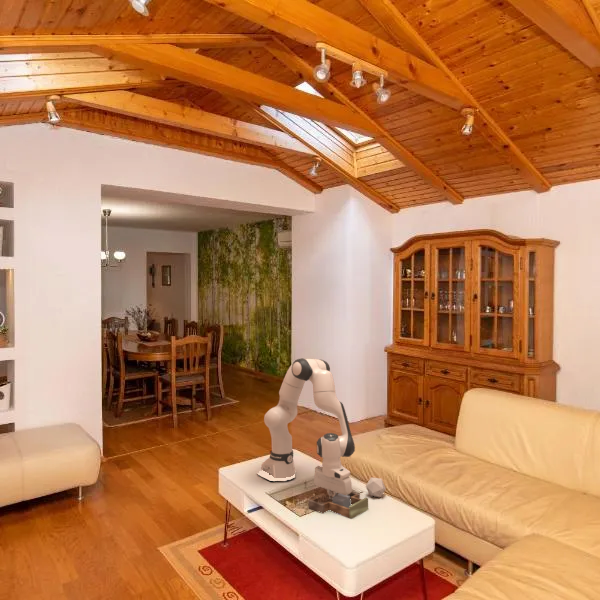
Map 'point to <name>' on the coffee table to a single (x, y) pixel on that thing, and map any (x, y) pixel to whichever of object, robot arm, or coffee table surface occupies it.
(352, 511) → the box
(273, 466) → the robot arm
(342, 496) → the block
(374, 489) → the die
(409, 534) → the coffee table surface
